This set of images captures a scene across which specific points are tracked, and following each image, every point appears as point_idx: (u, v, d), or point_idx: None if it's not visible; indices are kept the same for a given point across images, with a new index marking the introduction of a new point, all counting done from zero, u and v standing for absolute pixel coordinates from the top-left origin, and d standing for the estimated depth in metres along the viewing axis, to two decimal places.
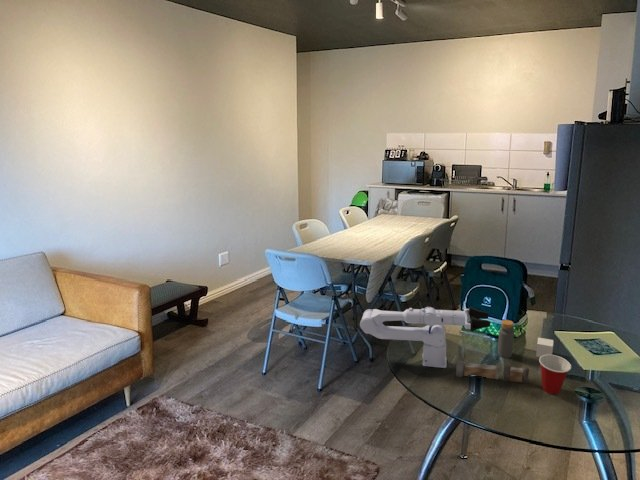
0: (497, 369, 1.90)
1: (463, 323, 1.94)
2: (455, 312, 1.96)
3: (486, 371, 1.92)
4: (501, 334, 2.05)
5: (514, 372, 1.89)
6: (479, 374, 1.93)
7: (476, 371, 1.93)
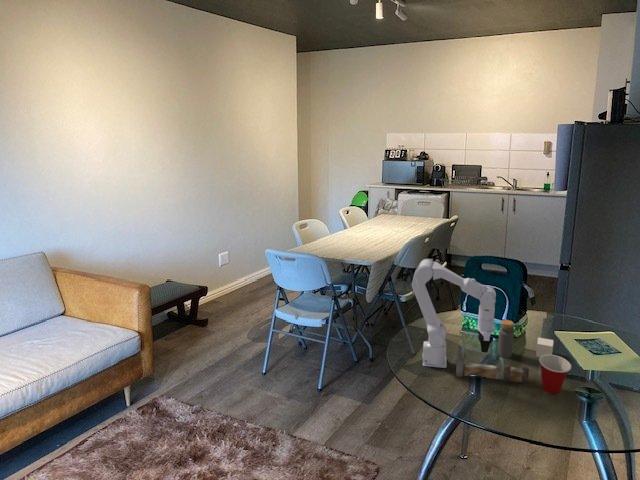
0: (497, 369, 1.90)
1: (483, 329, 1.91)
2: (493, 320, 1.91)
3: (486, 371, 1.92)
4: (501, 334, 2.05)
5: (514, 372, 1.89)
6: (479, 374, 1.93)
7: (476, 371, 1.93)
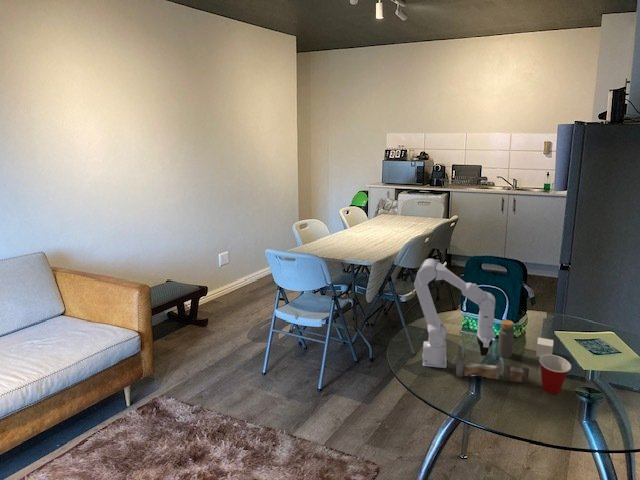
0: (497, 369, 1.90)
1: (483, 335, 1.92)
2: None
3: (486, 371, 1.92)
4: (501, 334, 2.05)
5: (514, 372, 1.89)
6: (479, 374, 1.93)
7: (476, 371, 1.93)
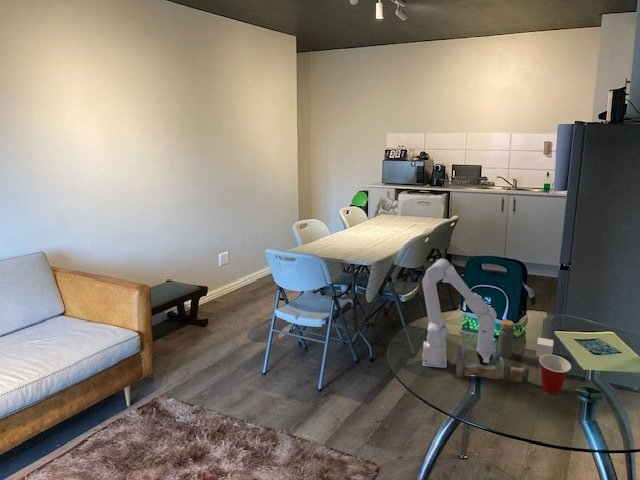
0: (497, 369, 1.90)
1: (482, 350, 1.90)
2: None
3: (486, 371, 1.92)
4: (501, 334, 2.05)
5: (514, 372, 1.89)
6: (479, 374, 1.93)
7: (476, 371, 1.93)
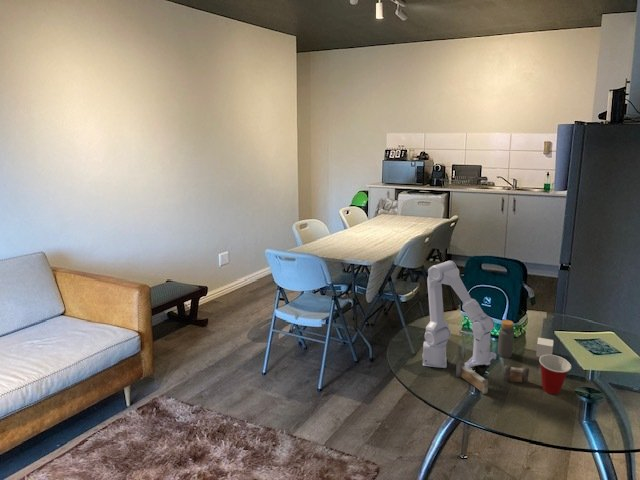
0: (483, 383, 1.82)
1: (473, 358, 1.85)
2: (485, 353, 1.82)
3: (476, 381, 1.86)
4: (501, 334, 2.05)
5: (514, 372, 1.89)
6: (471, 381, 1.88)
7: (469, 377, 1.89)
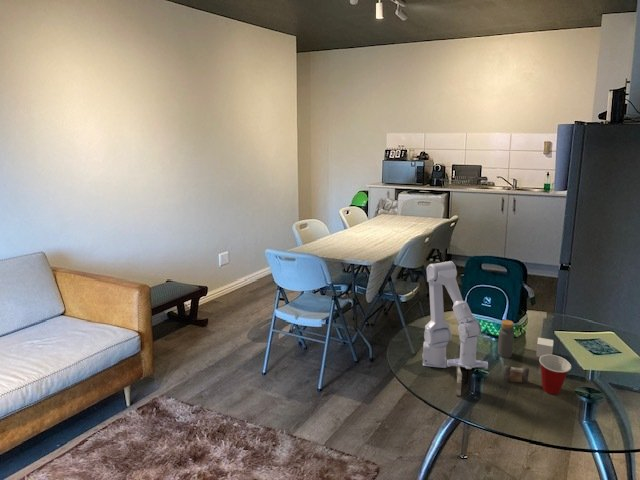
0: None
1: (459, 358, 1.85)
2: (466, 356, 1.80)
3: None
4: (501, 334, 2.05)
5: (514, 372, 1.89)
6: None
7: None
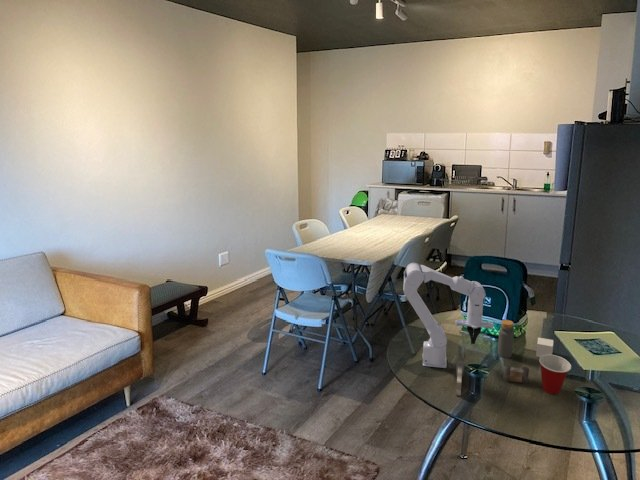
0: None
1: None
2: (473, 316, 1.95)
3: None
4: (501, 334, 2.05)
5: (514, 372, 1.89)
6: None
7: None
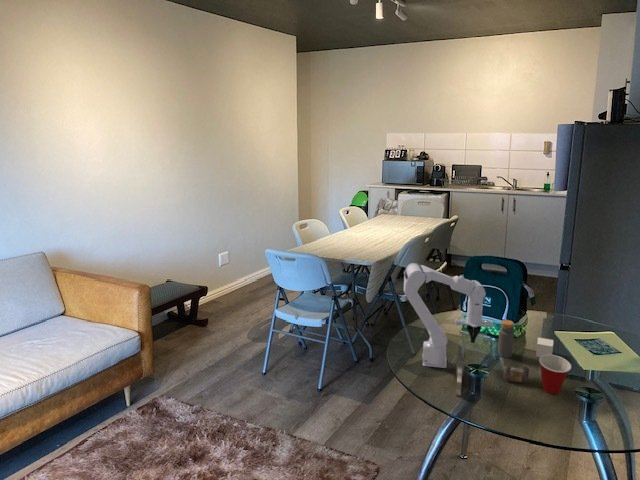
0: None
1: None
2: (473, 315, 1.96)
3: None
4: (501, 334, 2.05)
5: (514, 372, 1.89)
6: None
7: None
